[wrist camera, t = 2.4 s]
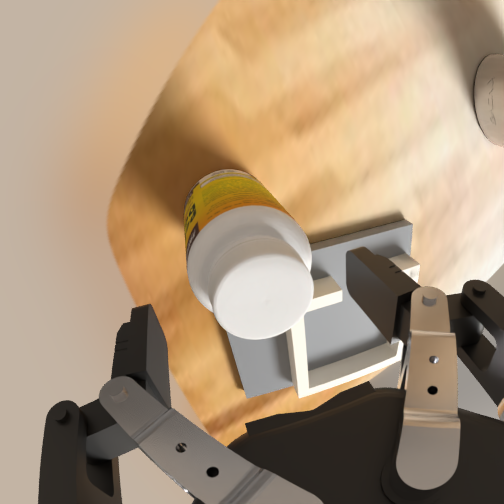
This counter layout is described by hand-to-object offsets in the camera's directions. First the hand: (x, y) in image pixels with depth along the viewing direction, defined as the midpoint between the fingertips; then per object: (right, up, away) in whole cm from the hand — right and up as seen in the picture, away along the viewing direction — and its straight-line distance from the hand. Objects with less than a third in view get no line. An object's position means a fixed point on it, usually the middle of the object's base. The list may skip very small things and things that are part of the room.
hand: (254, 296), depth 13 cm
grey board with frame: (+6, -4, +14) cm, 16 cm away
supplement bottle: (-2, +5, +8) cm, 10 cm away
